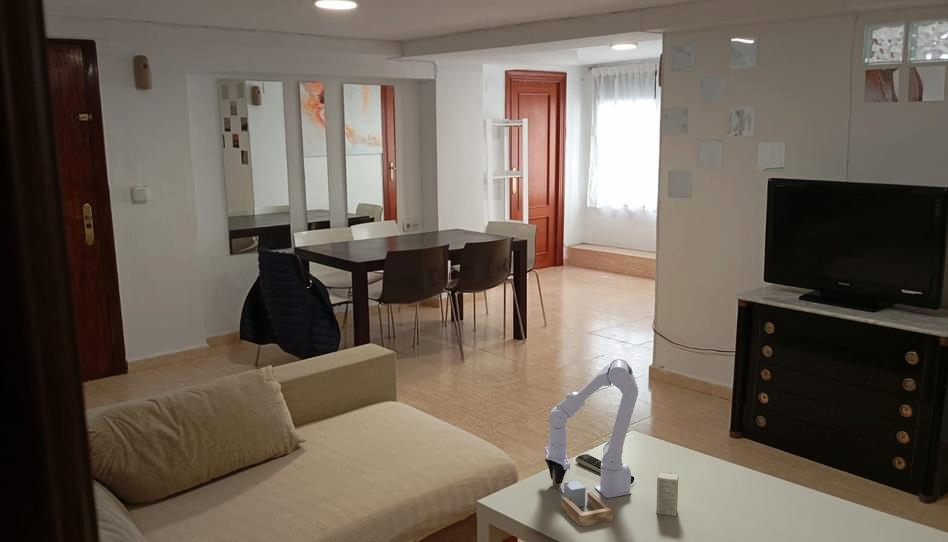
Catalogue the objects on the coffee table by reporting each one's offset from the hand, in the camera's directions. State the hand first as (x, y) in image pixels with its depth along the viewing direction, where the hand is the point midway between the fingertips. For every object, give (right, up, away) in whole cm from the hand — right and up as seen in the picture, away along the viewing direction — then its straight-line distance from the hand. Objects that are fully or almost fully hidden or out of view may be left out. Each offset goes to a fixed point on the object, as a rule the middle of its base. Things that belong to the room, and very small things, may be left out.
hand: (556, 481), depth 255 cm
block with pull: (+2, -3, -6) cm, 7 cm away
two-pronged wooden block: (+7, -5, -17) cm, 19 cm away
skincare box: (+32, -5, -17) cm, 37 cm away
